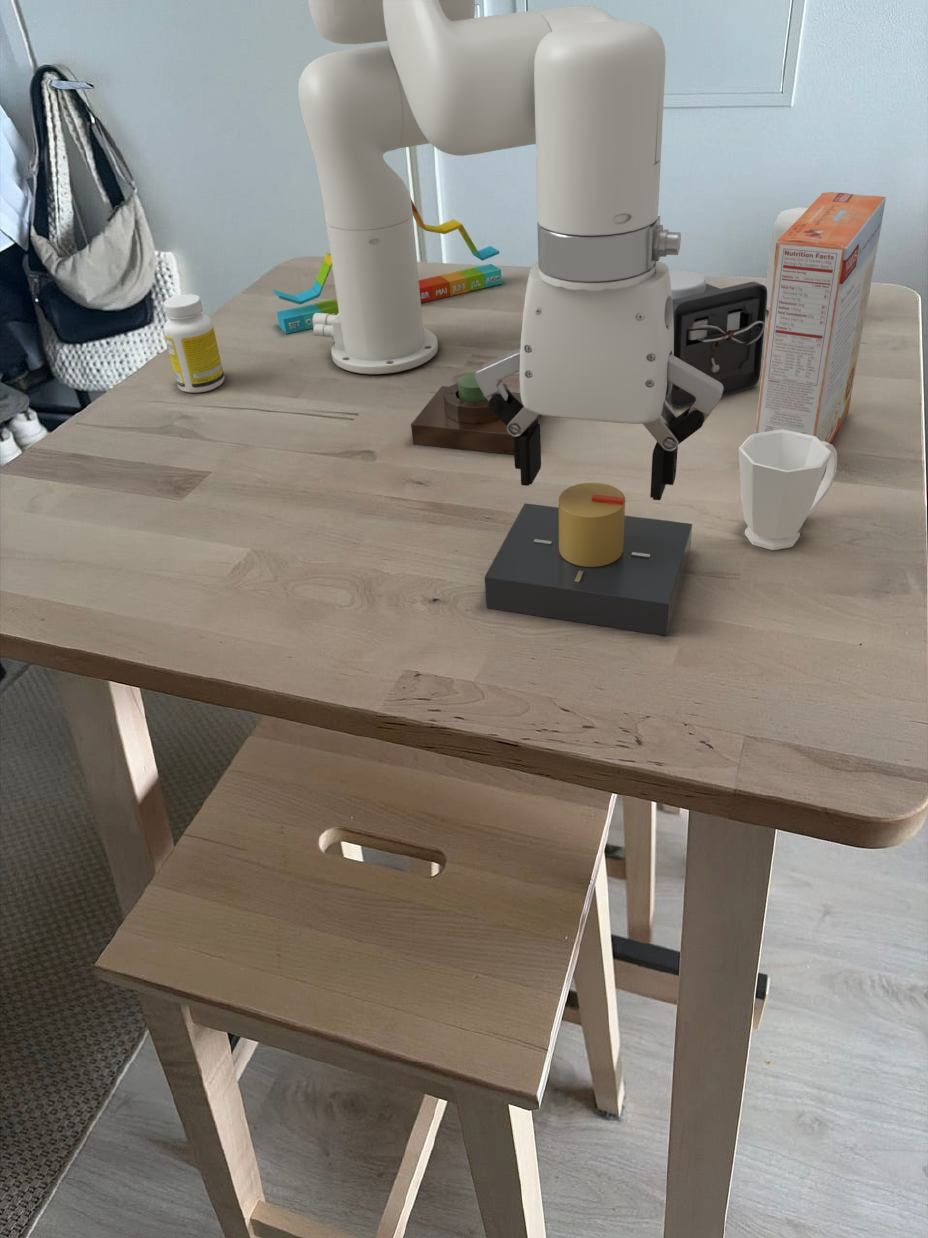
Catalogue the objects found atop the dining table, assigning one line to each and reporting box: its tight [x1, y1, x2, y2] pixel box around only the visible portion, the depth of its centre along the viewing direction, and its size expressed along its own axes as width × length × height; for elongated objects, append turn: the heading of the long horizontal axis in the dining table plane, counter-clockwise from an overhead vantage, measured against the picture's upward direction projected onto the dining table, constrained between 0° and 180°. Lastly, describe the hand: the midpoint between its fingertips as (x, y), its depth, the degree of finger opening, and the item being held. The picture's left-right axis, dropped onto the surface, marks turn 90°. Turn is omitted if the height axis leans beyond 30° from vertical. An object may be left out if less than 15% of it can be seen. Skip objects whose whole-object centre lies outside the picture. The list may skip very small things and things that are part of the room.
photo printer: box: [764, 206, 810, 312], centre depth 115 cm, size 10×4×12 cm, turn 32°
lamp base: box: [410, 382, 543, 456], centre depth 100 cm, size 11×9×4 cm
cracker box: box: [754, 191, 887, 445], centre depth 89 cm, size 14×6×21 cm, turn 150°
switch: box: [457, 371, 487, 402], centre depth 99 cm, size 4×4×2 cm
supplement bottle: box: [162, 293, 225, 394], centre depth 112 cm, size 5×5×10 cm
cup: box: [738, 429, 838, 551], centre depth 81 cm, size 7×10×8 cm
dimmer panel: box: [484, 503, 693, 636], centre depth 79 cm, size 14×11×3 cm
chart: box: [272, 198, 502, 335], centre depth 126 cm, size 30×3×15 cm, turn 115°
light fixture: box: [665, 269, 767, 409], centre depth 105 cm, size 11×13×11 cm
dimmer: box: [558, 482, 626, 567], centre depth 76 cm, size 5×5×5 cm
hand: (593, 483), depth 74 cm, fingers open, 9 cm apart
